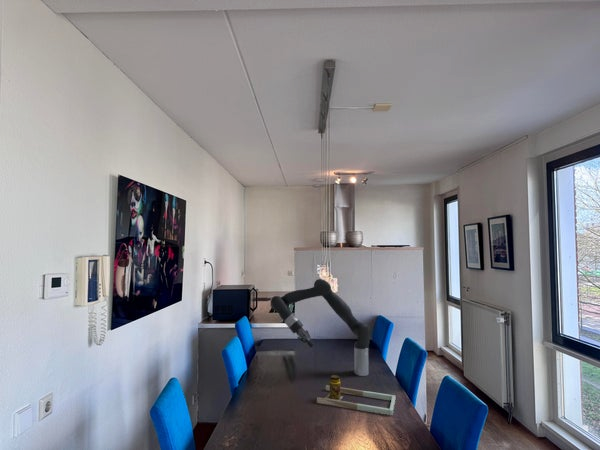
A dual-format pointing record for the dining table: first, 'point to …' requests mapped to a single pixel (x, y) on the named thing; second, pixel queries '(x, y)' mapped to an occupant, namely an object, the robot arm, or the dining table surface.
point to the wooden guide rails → (338, 402)
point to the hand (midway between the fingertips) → (312, 346)
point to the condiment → (335, 388)
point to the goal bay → (374, 408)
